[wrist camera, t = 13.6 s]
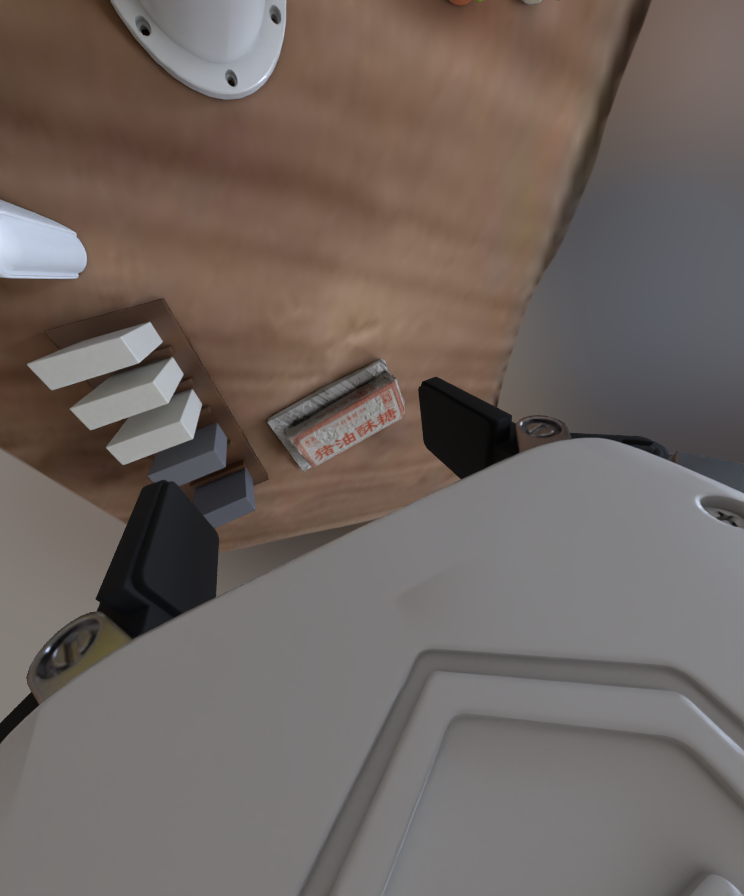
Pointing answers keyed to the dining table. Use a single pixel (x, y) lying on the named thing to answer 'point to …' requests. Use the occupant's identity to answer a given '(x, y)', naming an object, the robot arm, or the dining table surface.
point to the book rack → (193, 378)
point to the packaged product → (339, 415)
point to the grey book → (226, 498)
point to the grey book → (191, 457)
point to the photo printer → (37, 246)
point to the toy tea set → (464, 0)
